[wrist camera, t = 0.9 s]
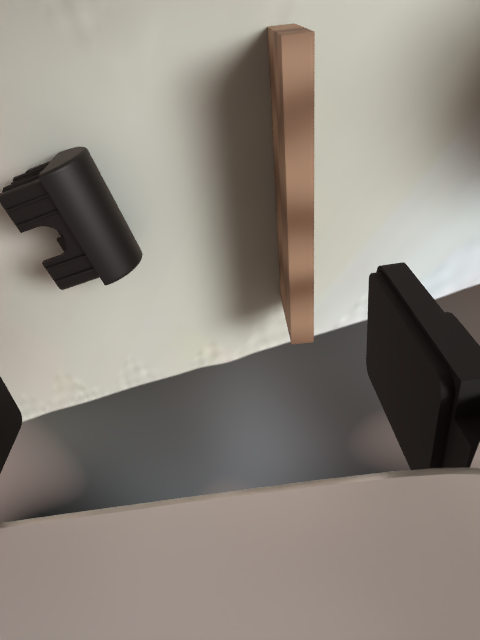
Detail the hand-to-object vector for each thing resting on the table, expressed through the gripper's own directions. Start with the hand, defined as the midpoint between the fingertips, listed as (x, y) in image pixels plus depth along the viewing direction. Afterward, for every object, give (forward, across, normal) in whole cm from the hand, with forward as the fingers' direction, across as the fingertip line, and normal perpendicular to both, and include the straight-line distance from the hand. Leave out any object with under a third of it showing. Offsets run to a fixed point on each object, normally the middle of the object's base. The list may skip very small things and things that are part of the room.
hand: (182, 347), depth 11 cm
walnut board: (+32, -7, +7) cm, 33 cm away
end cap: (+32, +11, +6) cm, 35 cm away
